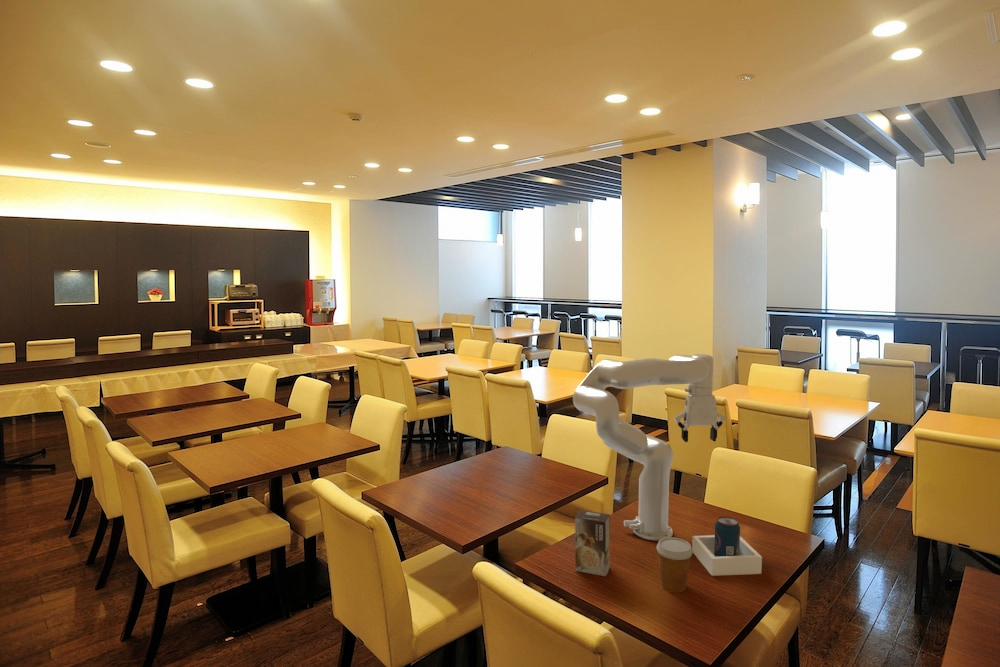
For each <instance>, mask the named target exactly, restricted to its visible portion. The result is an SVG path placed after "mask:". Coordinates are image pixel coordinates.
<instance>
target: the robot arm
mask: <svg viewBox="0 0 1000 667" xmlns="http://www.w3.org/2000/svg"><path fill="white" fill-rule="evenodd" d="M713 380H714V358H713V356H712V355H710V354H704V353H696V354H692V355H688V354H687V355H686V354H685V355H684V354H675V355H672V356H671V357H669V358H668V359H662V358H655V357H654V358H651V357H650V358H648V357H647V358H642V359H641V358H639V359H633V360H625V361H623V360H622V361H620V360H615V359H611V358H605V359H602V360H600V361H599V362H598V363H596V365H595V366H593V368H592V369H591V370H590V371H589V373H588V374H587V375H585V377H584V378H583V380H582V381H581V382H580V383H579V385H577V388H575V390H574V392H573V396H572V403H573V406H574V407H575V408H576V410H578V411H579V412H582V413H584V414H587V415H590V416H593V417H595V428H596V433H597V436H598V438H600V439H601V440H602V441H603V444H604V445H605V446H607V448H609V449H610V450H612V451H614V452H616V453H618V454H621V455H622V456H624V457H626V458H628V459H630V460H632V461H635V462H637V463H640V464H641V465H643V469H642V471H641V473H640V474H639V477H638V515H636V516H635V518H634V519H632V520H629V519H627V520H626V519H625V520H623V526H624V527H629V530H631V529H633V530H632V531H633V533H634V534H635V535H636V536H637V537H639V538H642V539H644V540H648V541H656V542H657V541H658V542H659V540H660V539H663V538H669V537H672V538H673V534H674V532H673V529H672V527H671V526H670V525H669V504H670V500H669V498H670V495H669V493H670V491H669V490H670V474H671V467H672V464H673V460H674V453H673V452H674V451H673V449H672V447H671V446H670V444H669V443H667V442H666V441H664V440H662V439H660V438H657V437H655V436H651V435H648V434H647V433H646V434H645V432H643V431H642V429H640V428H639V427H637V426H635V425H632V424H630V423H629V422H627V421H626V420H624V419H622V418H620V406H619V402H618V399H617V398H616V396H615V395H614V394H612V393H611V392H610V391H608V390H606V389H607V387H611V388H615V389H620V390H628V389H634V388H641V387H648V386H654V385H655V386H664V385H665V386H667V385H668V386H669V385H688V386H687V387H685V388H684V392H685V393H687V395H686V398H685V403H684V407H683V408H684V409H683V411H682V412H680V413H678V414H677V415H675V416H674V417H673V418H674V420H675V422H676V425H677V426H678V427H679V428H680V429H681V439H682V441H683V442H685V443H688V442H689V430H688V429H689V428H690V426H691V427H692V426H693V427H694V426H695V427H697V426H703V427H704V426H711V427H710V429H709V432H710V433H709V434H710V435H709V439H710V440H711V441H712V442H717V438H718V430H719V429H720V427H721V426H722V425H724V421H725V420H726V416H725V415H724V414H722V413H719V412H718V410H717V401H716V396H715V395H714V394H713V389H714V388H713V387H714V386H713V385H714V382H713ZM718 418H719V419H718ZM681 419H683V423H682V421H681Z"/></svg>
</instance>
